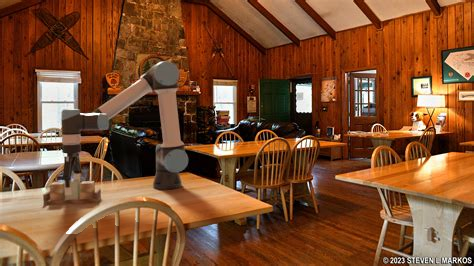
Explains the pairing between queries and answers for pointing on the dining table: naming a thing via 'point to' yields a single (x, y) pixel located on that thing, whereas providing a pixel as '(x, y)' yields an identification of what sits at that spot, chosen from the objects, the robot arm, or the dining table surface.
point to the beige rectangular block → (74, 190)
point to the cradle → (86, 196)
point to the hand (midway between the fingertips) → (72, 191)
